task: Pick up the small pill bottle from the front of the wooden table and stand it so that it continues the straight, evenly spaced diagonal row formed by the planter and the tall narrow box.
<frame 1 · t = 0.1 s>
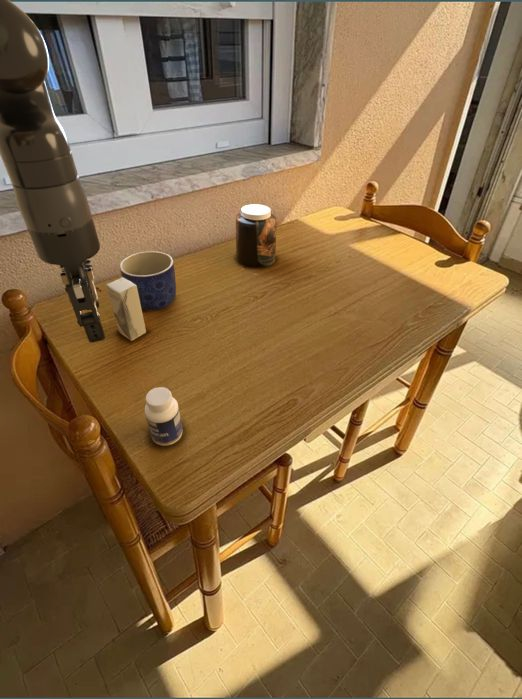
hand: (94, 323, 57), 20 cm above the table, tool pointing down, fingers open, 8 cm apart
jar: (255, 259, 116), on the table
pill bottle: (167, 434, 66), on the table
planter: (154, 302, 97), on the table
box: (133, 333, 87), on the table
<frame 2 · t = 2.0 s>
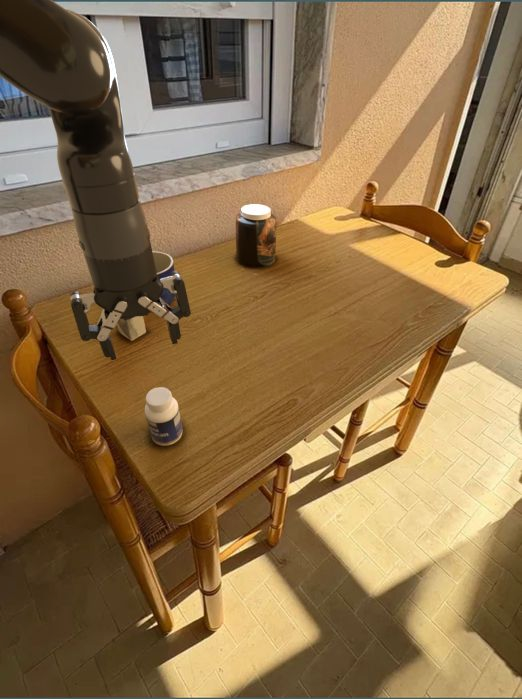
hand: (144, 348, 54), 19 cm above the table, tool pointing down, fingers open, 8 cm apart
nothing on the table moved.
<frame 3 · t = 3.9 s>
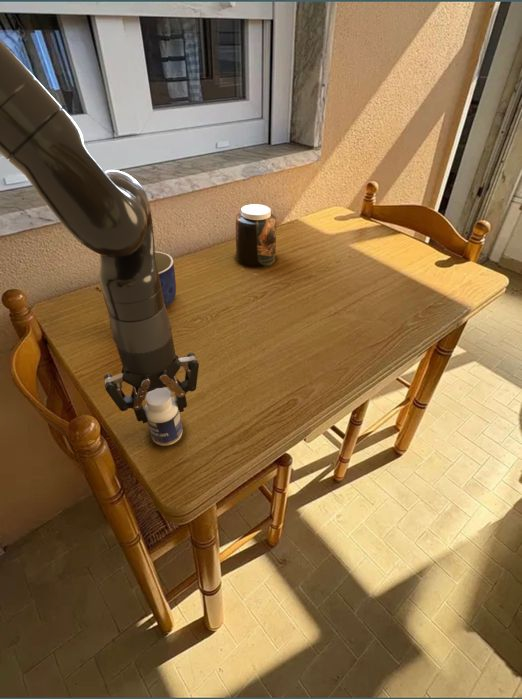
hand: (162, 413, 63), 5 cm above the table, tool pointing down, fingers closed on pill bottle, 5 cm apart
pill bottle: (167, 434, 66), on the table, touching gripper
everything else where it was.
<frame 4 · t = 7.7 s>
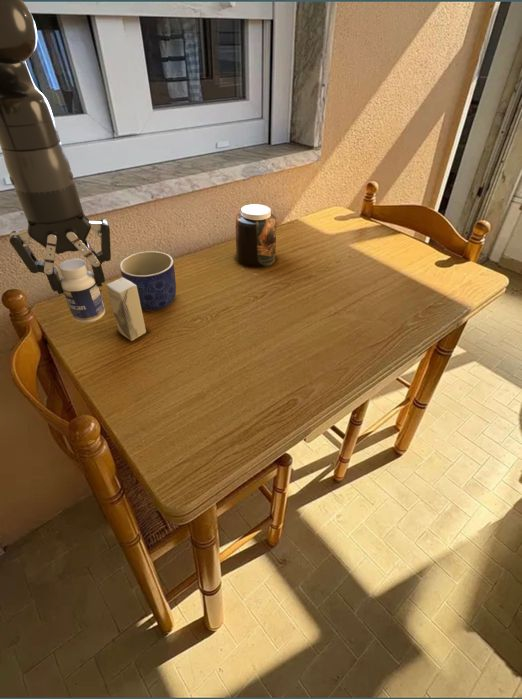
hand: (80, 287, 63), 21 cm above the table, tool pointing down, fingers closed on pill bottle, 5 cm apart
pill bottle: (89, 315, 67), point 15 cm above the table, touching gripper
everything else where it was.
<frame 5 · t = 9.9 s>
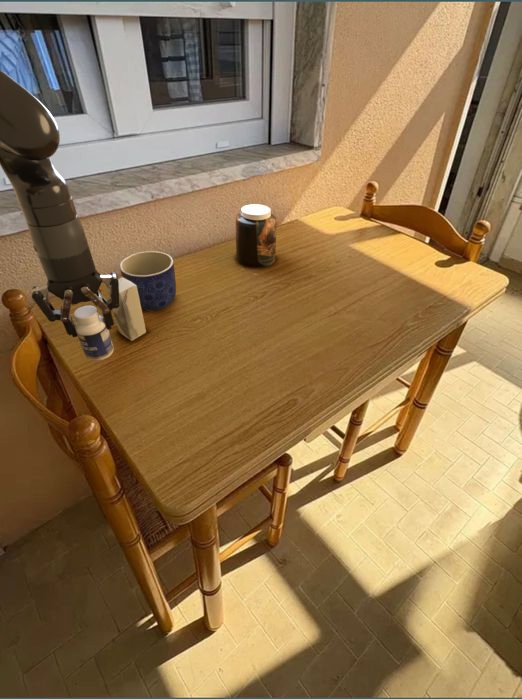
hand: (92, 330, 71), 11 cm above the table, tool pointing down, fingers closed on pill bottle, 5 cm apart
pill bottle: (100, 353, 74), point 5 cm above the table, touching gripper
everything else where it was.
when the fingers open (5 cm above the table, at t = 11.6 s): pill bottle stays where it is, on the table.
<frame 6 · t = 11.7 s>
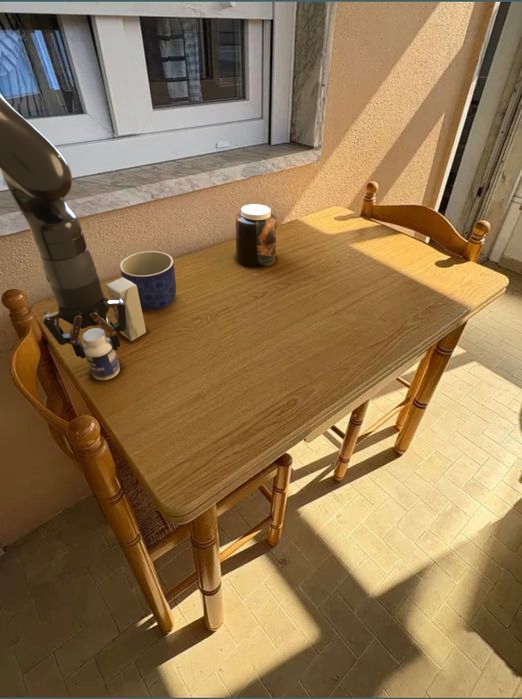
hand: (99, 351, 74), 5 cm above the table, tool pointing down, fingers open, 5 cm apart
pill bottle: (106, 372, 78), on the table
everything else where it was.
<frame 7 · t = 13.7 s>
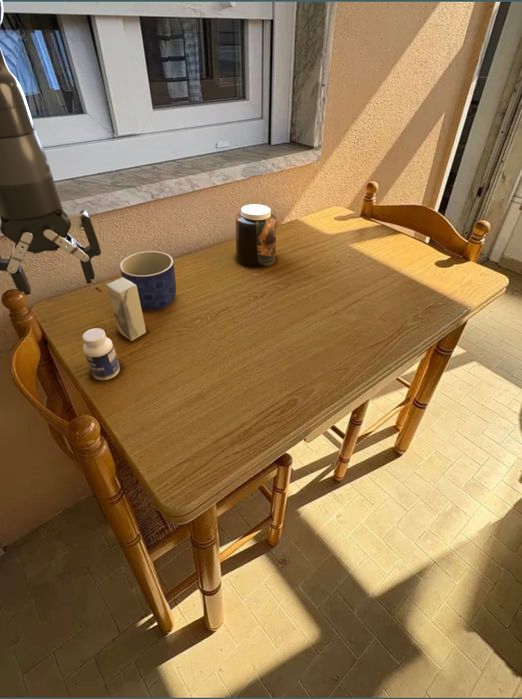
hand: (59, 286, 58), 24 cm above the table, tool pointing down, fingers open, 8 cm apart
nothing on the table moved.
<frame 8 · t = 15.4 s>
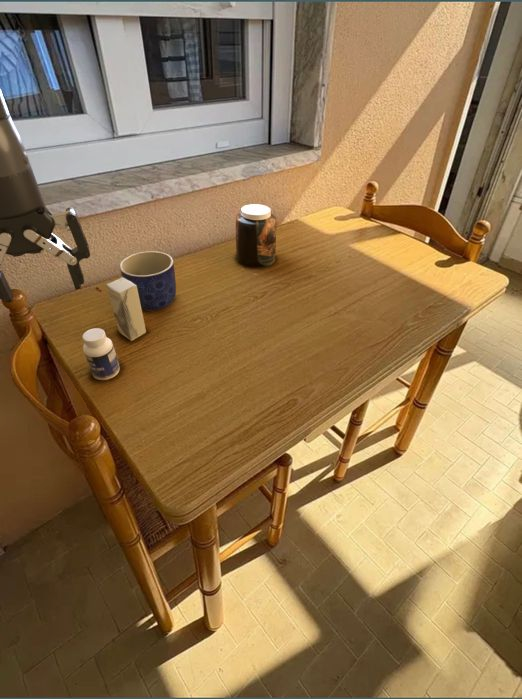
hand: (44, 292, 52), 26 cm above the table, tool pointing down, fingers open, 8 cm apart
nothing on the table moved.
at the end: pill bottle 0.1 cm from the target spot on the table beside the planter, on the table; pill bottle tilted 0°; the gripper is holding nothing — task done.
